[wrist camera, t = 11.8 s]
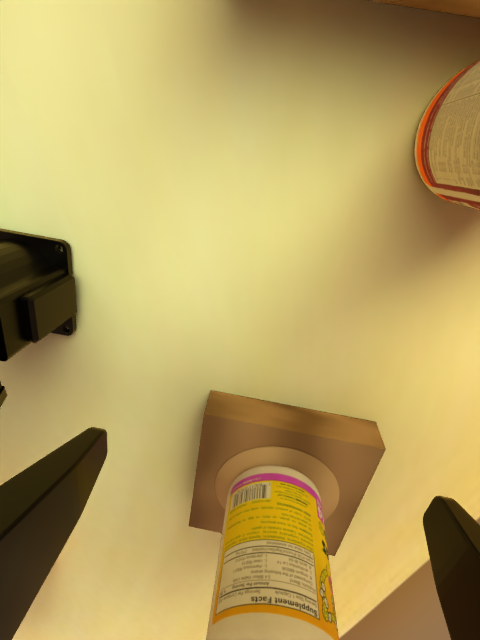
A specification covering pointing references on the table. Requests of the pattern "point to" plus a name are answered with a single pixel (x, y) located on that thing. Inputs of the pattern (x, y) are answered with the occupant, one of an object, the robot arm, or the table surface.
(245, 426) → the base slab
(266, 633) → the supplement bottle
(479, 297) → the table surface
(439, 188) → the pill bottle
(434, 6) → the box
